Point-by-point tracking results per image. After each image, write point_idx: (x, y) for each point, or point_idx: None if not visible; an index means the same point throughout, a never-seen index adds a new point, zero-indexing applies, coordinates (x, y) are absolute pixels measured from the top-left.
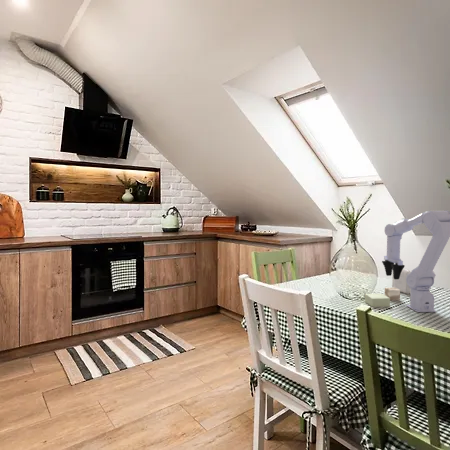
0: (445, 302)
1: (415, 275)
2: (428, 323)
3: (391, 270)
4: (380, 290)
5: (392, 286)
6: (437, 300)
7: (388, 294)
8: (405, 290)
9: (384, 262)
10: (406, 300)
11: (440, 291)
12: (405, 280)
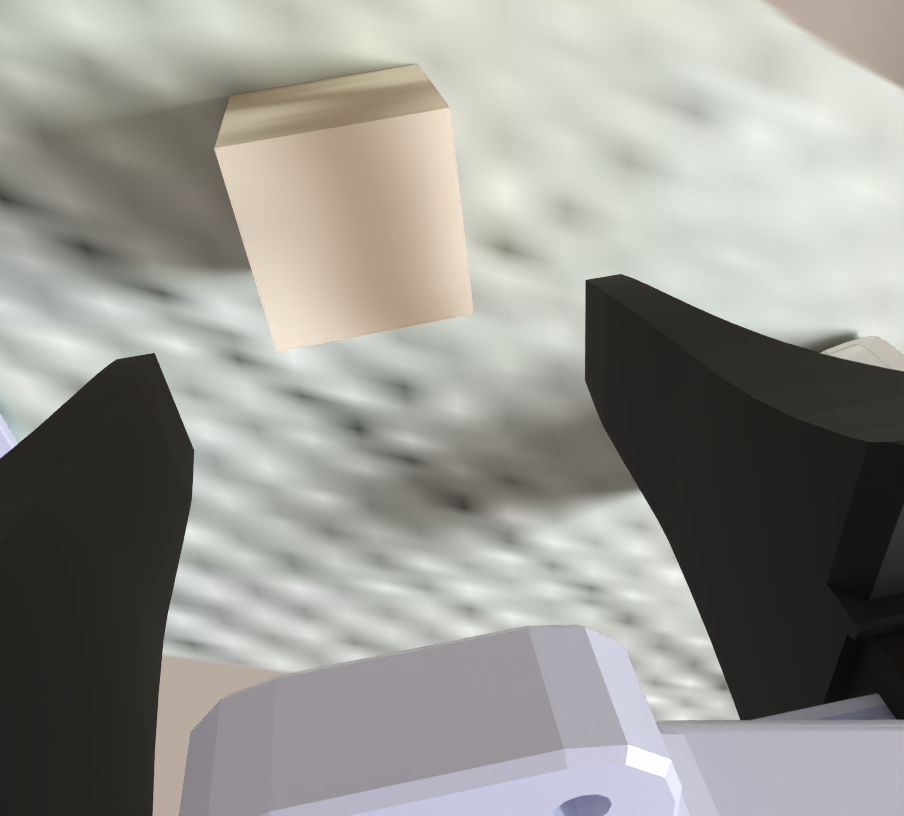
0: (275, 670)
1: None
2: None
3: (643, 477)
4: (866, 143)
5: (890, 351)
6: (344, 631)
7: (272, 111)
8: None
9: (849, 472)
10: (282, 351)
11: (680, 701)
12: None
